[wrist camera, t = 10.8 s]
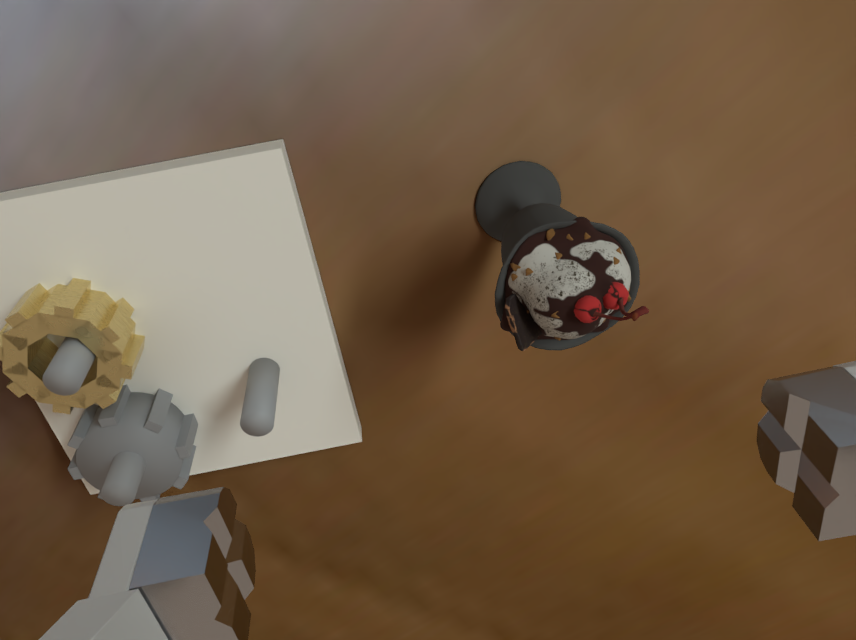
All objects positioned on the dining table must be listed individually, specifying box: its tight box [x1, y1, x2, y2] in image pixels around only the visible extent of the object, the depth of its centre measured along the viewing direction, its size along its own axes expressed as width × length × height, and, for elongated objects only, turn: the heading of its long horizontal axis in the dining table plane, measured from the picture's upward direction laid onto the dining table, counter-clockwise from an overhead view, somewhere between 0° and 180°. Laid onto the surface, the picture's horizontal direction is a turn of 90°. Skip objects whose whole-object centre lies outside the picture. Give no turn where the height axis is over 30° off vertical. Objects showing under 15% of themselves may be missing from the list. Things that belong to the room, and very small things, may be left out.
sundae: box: [475, 161, 649, 351], centre depth 34 cm, size 7×7×15 cm
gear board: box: [0, 139, 362, 506], centre depth 39 cm, size 20×18×7 cm
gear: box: [0, 278, 145, 414], centre depth 38 cm, size 7×7×3 cm
